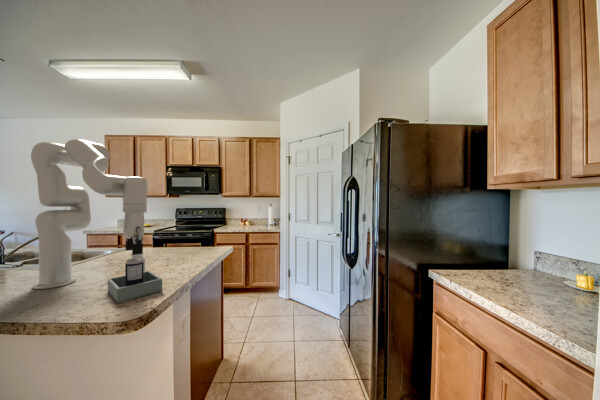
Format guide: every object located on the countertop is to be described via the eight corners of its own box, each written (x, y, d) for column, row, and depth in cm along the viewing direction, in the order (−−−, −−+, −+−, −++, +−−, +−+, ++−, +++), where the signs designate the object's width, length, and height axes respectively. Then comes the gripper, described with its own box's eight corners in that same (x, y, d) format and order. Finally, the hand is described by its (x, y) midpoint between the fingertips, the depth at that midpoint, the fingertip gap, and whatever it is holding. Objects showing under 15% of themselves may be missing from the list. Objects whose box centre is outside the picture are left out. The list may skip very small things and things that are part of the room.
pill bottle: (127, 279, 105) (128, 254, 105) (130, 275, 110) (130, 251, 110) (143, 277, 107) (144, 252, 108) (145, 273, 113) (145, 250, 113)
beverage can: (146, 287, 92) (146, 257, 92) (135, 293, 87) (135, 261, 87) (133, 287, 93) (133, 257, 93) (121, 292, 87) (121, 261, 87)
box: (107, 291, 90) (107, 278, 90) (149, 282, 100) (149, 270, 100) (117, 303, 79) (117, 289, 79) (162, 291, 90) (162, 278, 90)
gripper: (117, 207, 93) (116, 249, 93) (129, 209, 81) (127, 257, 81) (139, 207, 99) (138, 247, 98) (153, 209, 87) (152, 254, 87)
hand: (133, 252), depth 90 cm, fingers open, 9 cm apart
